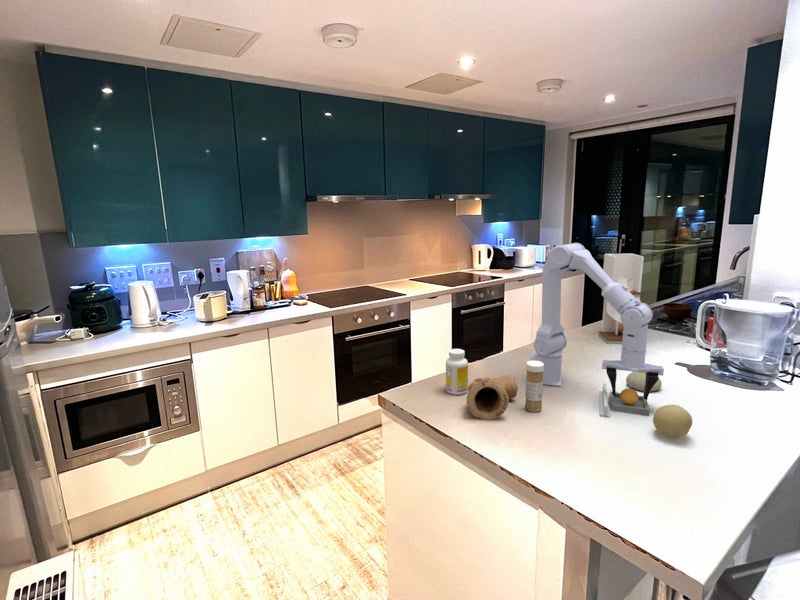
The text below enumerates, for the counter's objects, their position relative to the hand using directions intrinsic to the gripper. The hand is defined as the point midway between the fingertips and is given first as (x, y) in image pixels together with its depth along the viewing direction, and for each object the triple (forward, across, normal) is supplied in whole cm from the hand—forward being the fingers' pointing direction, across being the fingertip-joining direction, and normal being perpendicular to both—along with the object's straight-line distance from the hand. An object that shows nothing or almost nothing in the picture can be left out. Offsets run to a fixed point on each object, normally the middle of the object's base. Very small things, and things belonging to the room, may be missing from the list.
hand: (629, 395), depth 117 cm
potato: (+3, +8, -14) cm, 16 cm away
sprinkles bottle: (+3, -24, -11) cm, 27 cm away
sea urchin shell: (+3, +5, +16) cm, 17 cm away
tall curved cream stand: (+3, 0, +65) cm, 65 cm away
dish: (+3, 0, 0) cm, 3 cm away
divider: (+3, -6, -1) cm, 7 cm away
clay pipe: (+3, -34, -14) cm, 37 cm away
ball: (0, 0, 0) cm, 0 cm away
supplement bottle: (+3, -47, -7) cm, 48 cm away
